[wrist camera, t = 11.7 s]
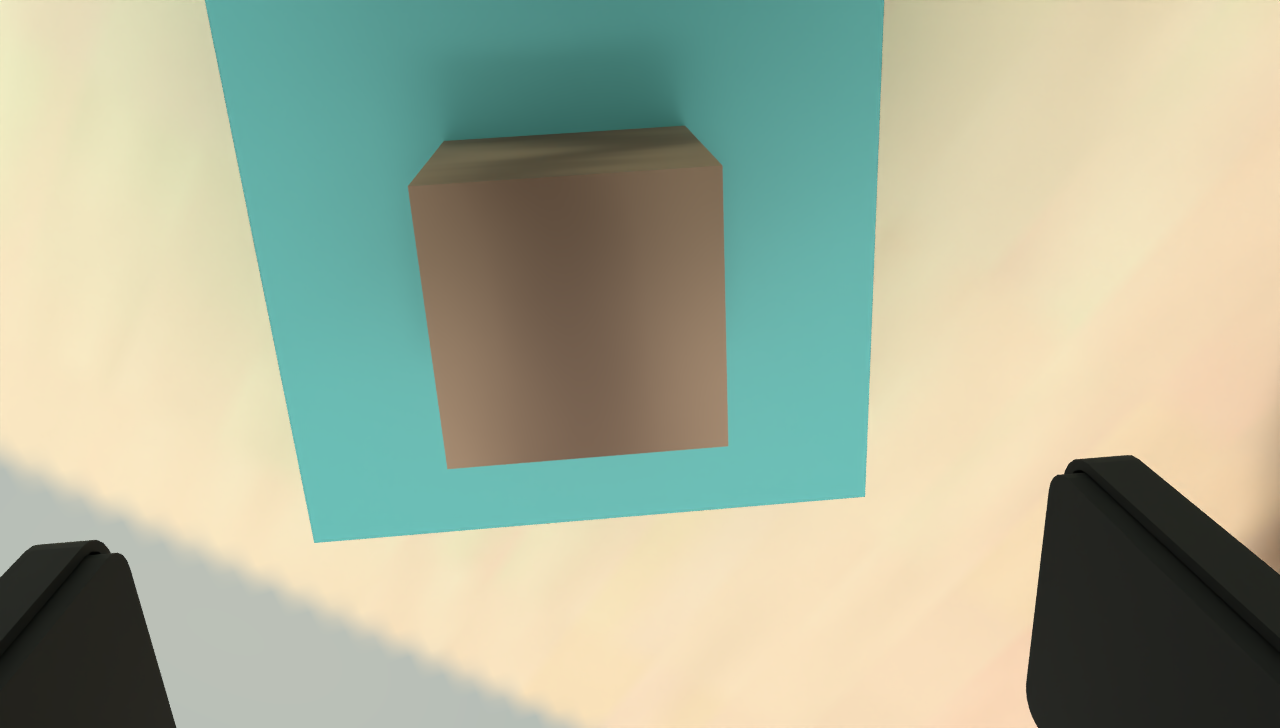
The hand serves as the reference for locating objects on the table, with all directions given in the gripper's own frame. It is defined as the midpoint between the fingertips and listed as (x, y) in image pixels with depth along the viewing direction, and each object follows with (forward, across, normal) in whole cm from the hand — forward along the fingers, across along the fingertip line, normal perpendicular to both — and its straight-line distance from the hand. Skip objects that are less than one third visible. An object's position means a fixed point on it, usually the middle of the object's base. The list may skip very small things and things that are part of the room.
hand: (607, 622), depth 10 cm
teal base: (+20, 0, 0) cm, 20 cm away
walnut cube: (+16, 0, 0) cm, 16 cm away
